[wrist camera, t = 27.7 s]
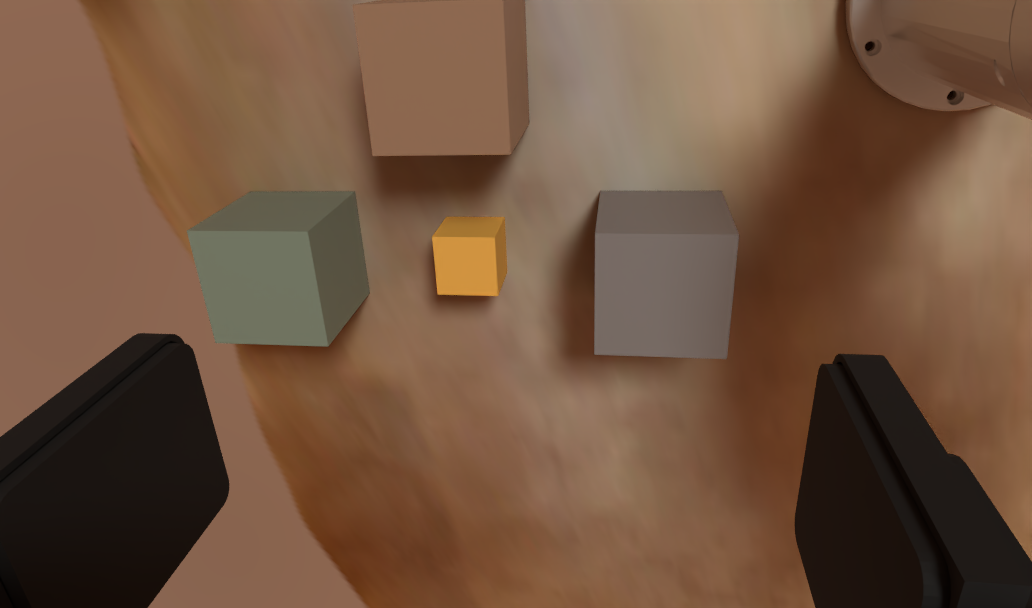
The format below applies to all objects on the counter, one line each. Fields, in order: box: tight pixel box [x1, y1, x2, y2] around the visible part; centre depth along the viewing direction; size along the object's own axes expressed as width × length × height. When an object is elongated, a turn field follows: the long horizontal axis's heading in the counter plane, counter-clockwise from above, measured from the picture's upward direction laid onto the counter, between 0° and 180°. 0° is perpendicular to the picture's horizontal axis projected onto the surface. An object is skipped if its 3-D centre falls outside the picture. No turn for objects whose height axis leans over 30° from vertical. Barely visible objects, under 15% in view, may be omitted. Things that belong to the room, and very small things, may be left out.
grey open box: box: [594, 191, 739, 359], centre depth 44 cm, size 8×8×8 cm
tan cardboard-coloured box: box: [353, 0, 529, 156], centre depth 40 cm, size 8×8×8 cm
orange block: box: [432, 217, 507, 296], centre depth 47 cm, size 4×4×4 cm
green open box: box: [187, 191, 370, 347], centre depth 47 cm, size 8×8×8 cm
